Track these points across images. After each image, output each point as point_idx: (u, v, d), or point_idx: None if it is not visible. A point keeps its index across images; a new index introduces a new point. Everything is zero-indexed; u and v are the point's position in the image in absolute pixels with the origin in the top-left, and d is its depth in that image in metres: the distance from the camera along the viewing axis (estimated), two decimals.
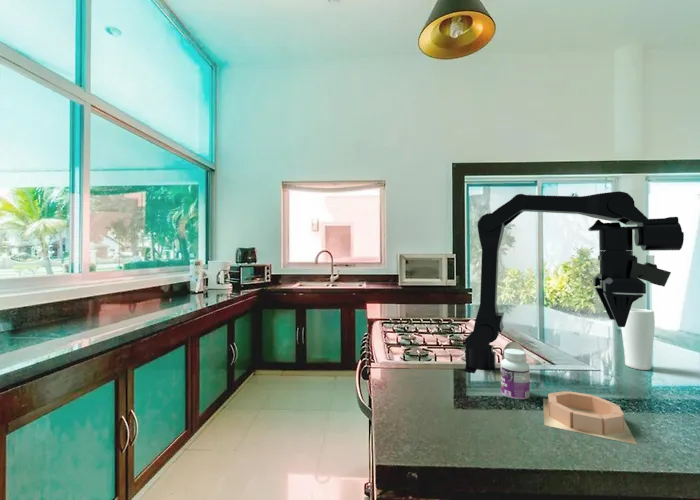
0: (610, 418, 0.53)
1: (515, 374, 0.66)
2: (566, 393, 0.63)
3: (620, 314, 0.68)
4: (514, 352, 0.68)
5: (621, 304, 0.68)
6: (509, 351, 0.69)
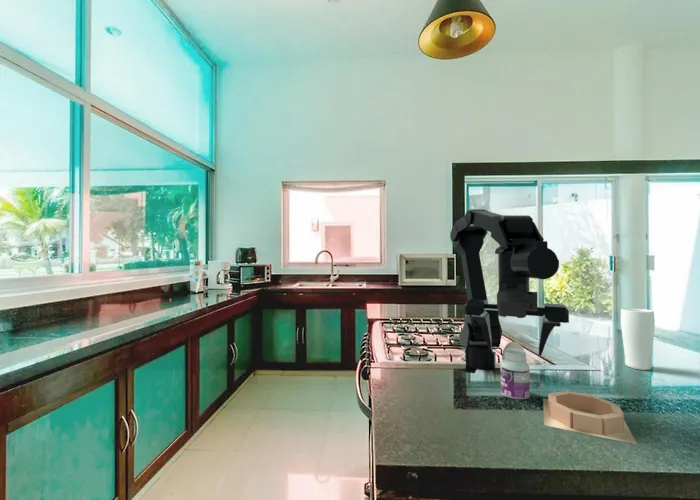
0: (610, 418, 0.53)
1: (515, 374, 0.66)
2: (566, 393, 0.63)
3: None
4: (514, 352, 0.68)
5: None
6: (509, 351, 0.69)
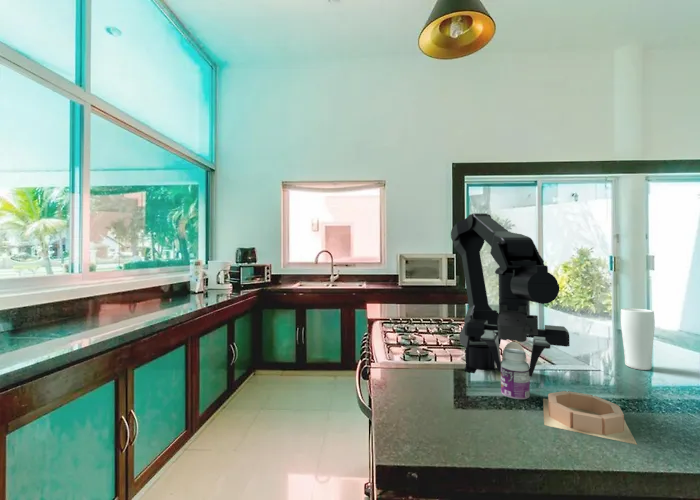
0: (610, 418, 0.53)
1: (515, 374, 0.66)
2: (566, 393, 0.63)
3: None
4: (514, 352, 0.68)
5: None
6: (509, 350, 0.69)
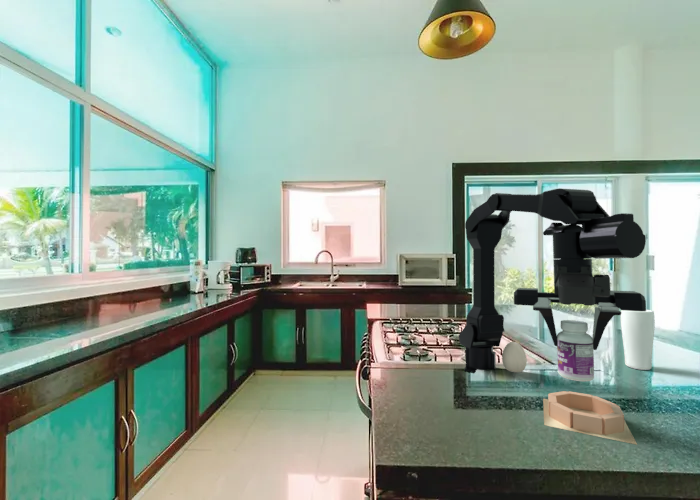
0: (610, 418, 0.53)
1: (578, 347, 0.57)
2: (566, 393, 0.63)
3: None
4: (574, 322, 0.58)
5: None
6: (568, 321, 0.59)
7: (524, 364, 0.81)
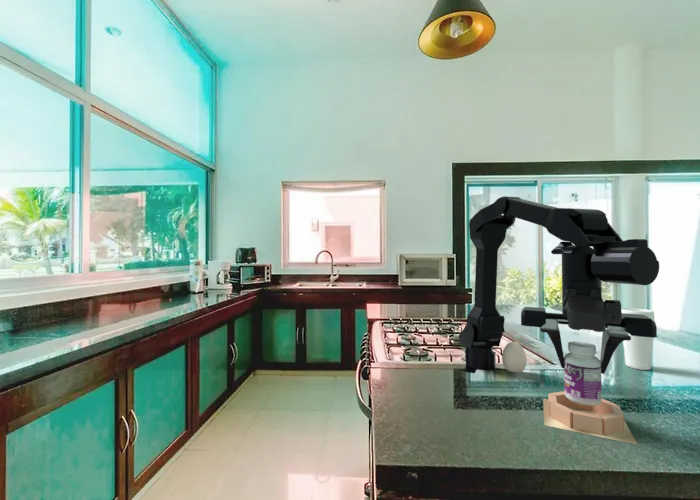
0: (610, 418, 0.53)
1: (586, 371, 0.56)
2: None
3: None
4: (582, 345, 0.57)
5: None
6: (575, 343, 0.58)
7: (524, 364, 0.81)
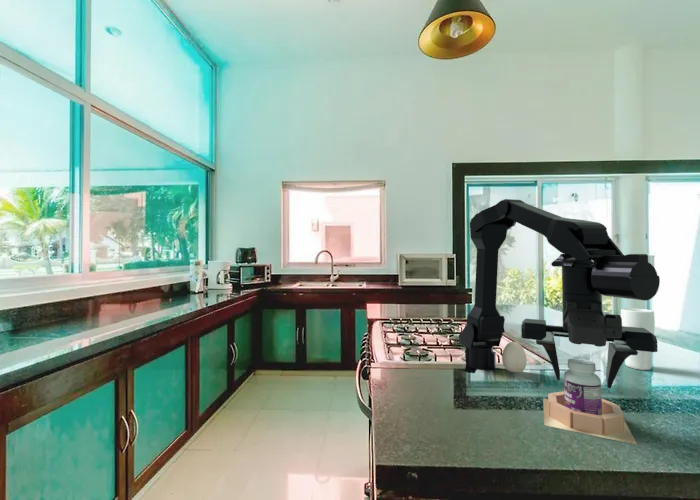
0: (610, 418, 0.53)
1: (586, 389, 0.56)
2: None
3: None
4: (581, 362, 0.58)
5: None
6: (575, 361, 0.59)
7: (524, 364, 0.81)
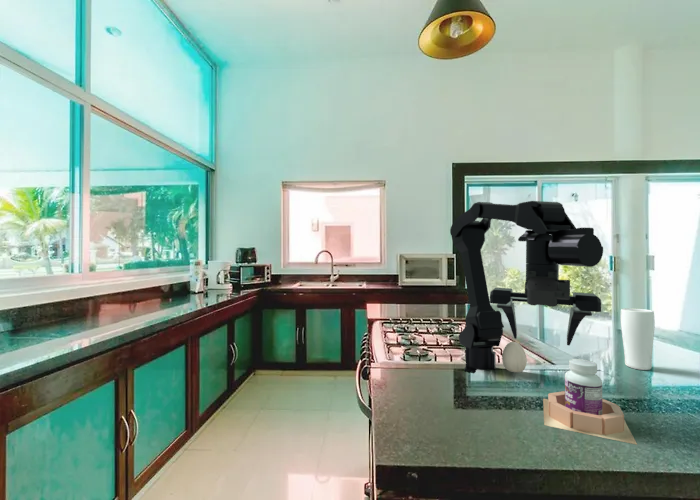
0: (610, 418, 0.53)
1: (587, 390, 0.56)
2: None
3: None
4: (583, 363, 0.57)
5: None
6: (577, 361, 0.58)
7: (524, 364, 0.81)
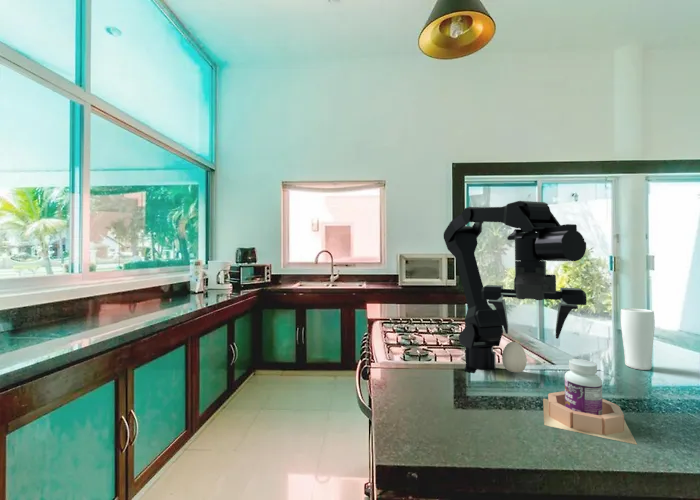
0: (610, 418, 0.53)
1: (587, 390, 0.56)
2: None
3: None
4: (583, 363, 0.57)
5: None
6: (576, 362, 0.58)
7: (524, 364, 0.81)
